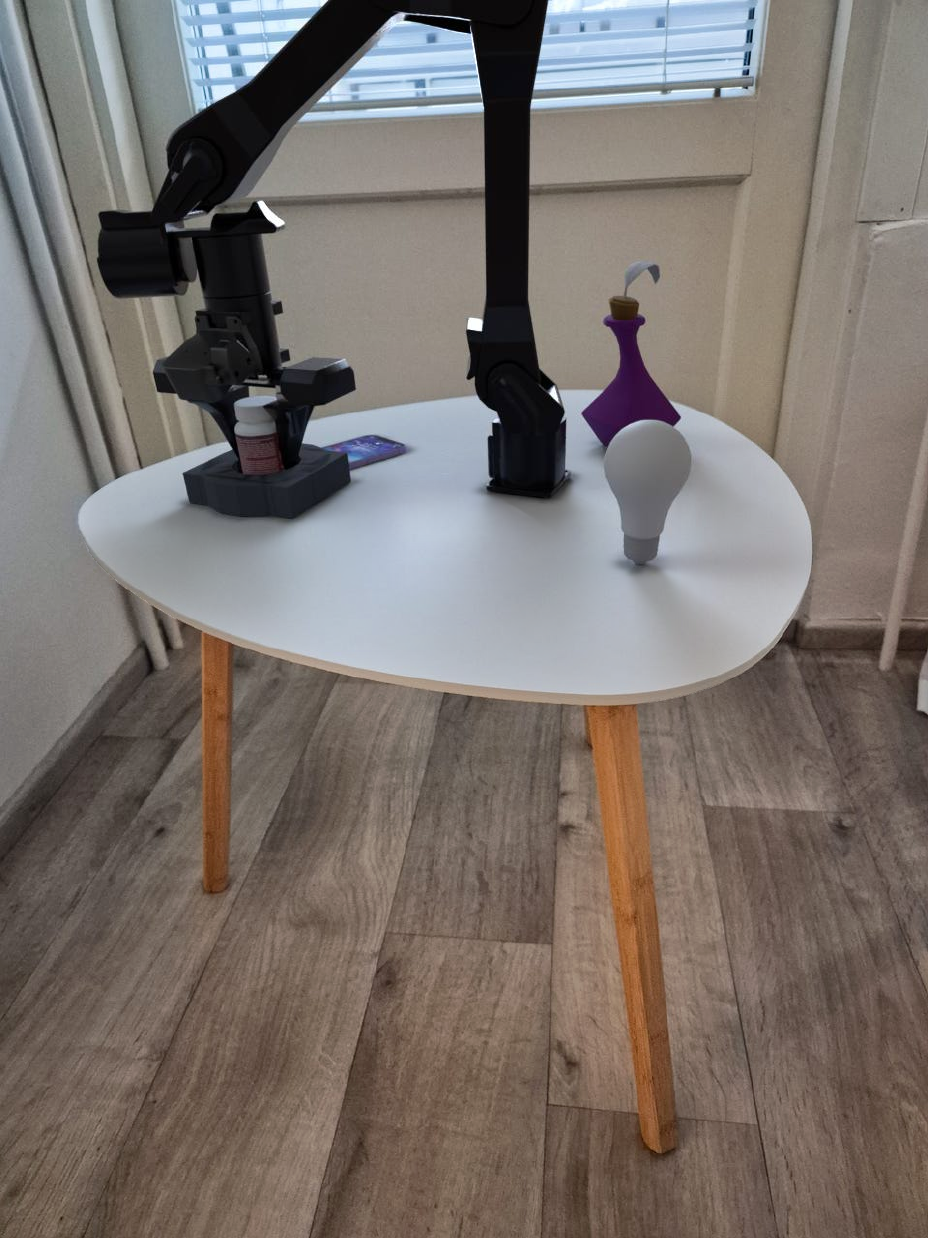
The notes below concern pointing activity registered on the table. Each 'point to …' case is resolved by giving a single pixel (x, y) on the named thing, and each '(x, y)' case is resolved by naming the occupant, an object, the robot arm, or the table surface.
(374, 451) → the smartphone
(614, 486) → the lightbulb
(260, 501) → the dark grey flat block
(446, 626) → the table surface
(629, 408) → the purple potion bottle
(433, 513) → the table surface
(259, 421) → the pill bottle
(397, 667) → the table surface
